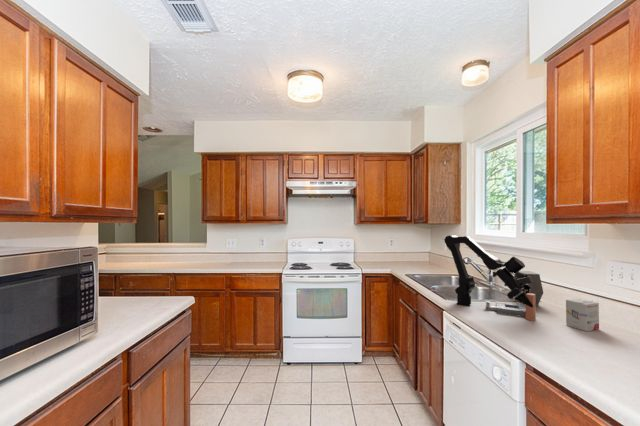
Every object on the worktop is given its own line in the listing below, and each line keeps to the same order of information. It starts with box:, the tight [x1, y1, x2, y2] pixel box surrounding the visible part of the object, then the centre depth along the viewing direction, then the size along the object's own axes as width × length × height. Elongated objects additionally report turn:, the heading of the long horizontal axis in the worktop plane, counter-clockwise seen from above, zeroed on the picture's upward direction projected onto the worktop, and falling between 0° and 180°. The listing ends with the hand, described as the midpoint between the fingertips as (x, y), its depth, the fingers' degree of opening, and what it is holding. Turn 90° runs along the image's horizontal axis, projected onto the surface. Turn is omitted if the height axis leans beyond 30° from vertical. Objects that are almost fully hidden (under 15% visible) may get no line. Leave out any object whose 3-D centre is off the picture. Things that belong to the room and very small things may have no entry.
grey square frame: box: [495, 301, 526, 318], centre depth 162 cm, size 14×14×2 cm
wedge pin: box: [525, 293, 537, 322], centre depth 150 cm, size 3×4×12 cm
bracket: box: [485, 300, 497, 312], centre depth 164 cm, size 5×2×4 cm, turn 62°
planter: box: [513, 270, 544, 306], centre depth 179 cm, size 17×8×21 cm
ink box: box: [565, 298, 600, 332], centre depth 139 cm, size 9×9×12 cm
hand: (534, 305), depth 148 cm, fingers closed on wedge pin, 4 cm apart
